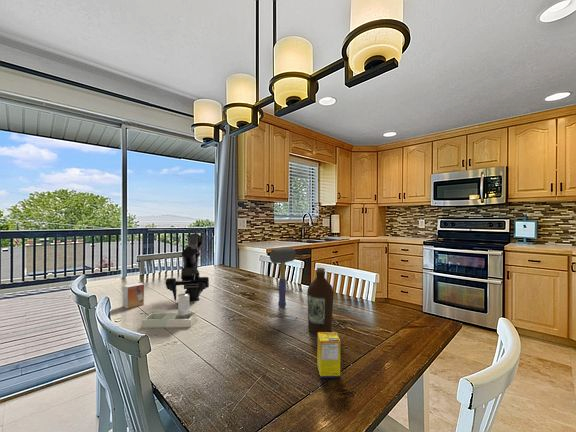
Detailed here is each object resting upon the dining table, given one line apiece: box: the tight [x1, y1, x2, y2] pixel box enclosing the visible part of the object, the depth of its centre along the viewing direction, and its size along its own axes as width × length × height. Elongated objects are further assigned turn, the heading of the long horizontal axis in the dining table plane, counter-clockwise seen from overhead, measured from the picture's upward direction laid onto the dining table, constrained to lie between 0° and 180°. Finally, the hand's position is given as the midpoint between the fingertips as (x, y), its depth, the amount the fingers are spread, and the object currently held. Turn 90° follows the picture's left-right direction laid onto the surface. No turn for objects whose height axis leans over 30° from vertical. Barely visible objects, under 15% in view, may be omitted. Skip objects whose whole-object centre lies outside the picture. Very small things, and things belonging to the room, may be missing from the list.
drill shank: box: [177, 292, 190, 319], centre depth 116 cm, size 4×4×12 cm
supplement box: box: [316, 331, 341, 379], centre depth 81 cm, size 6×6×11 cm
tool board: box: [141, 312, 197, 329], centre depth 115 cm, size 19×8×3 cm, turn 93°
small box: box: [122, 282, 145, 309], centre depth 136 cm, size 8×6×10 cm
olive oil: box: [306, 267, 335, 335], centre depth 111 cm, size 11×11×25 cm
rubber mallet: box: [269, 247, 297, 309], centre depth 137 cm, size 12×8×30 cm, turn 131°
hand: (186, 299), depth 122 cm, fingers open, 9 cm apart
